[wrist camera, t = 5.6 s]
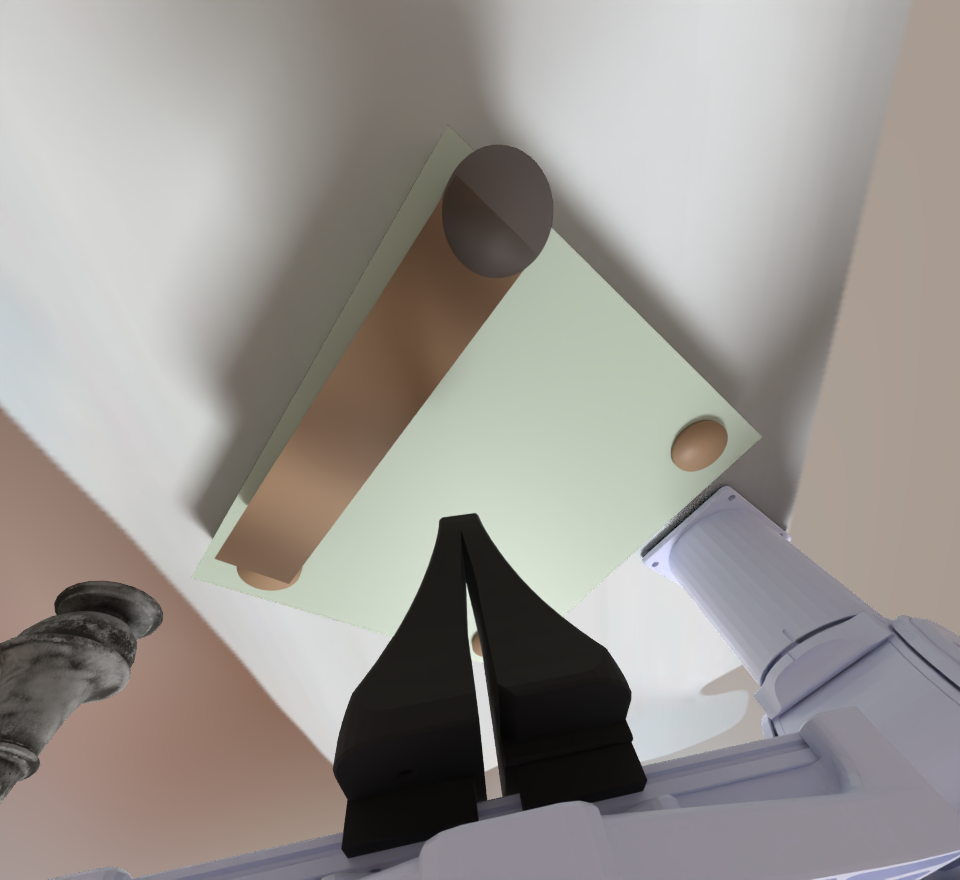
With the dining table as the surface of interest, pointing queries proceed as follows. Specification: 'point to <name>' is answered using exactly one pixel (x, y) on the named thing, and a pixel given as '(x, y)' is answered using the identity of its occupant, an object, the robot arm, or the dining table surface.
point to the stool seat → (507, 441)
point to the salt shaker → (67, 667)
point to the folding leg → (398, 355)
